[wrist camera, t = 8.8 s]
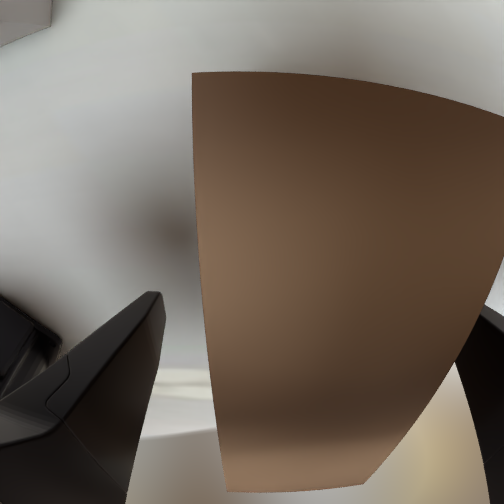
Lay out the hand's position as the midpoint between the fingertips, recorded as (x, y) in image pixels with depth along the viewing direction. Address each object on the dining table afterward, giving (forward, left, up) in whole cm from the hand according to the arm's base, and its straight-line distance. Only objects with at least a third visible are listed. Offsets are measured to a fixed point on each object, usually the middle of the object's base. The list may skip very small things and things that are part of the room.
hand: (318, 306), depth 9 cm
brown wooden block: (0, 0, -5) cm, 5 cm away
